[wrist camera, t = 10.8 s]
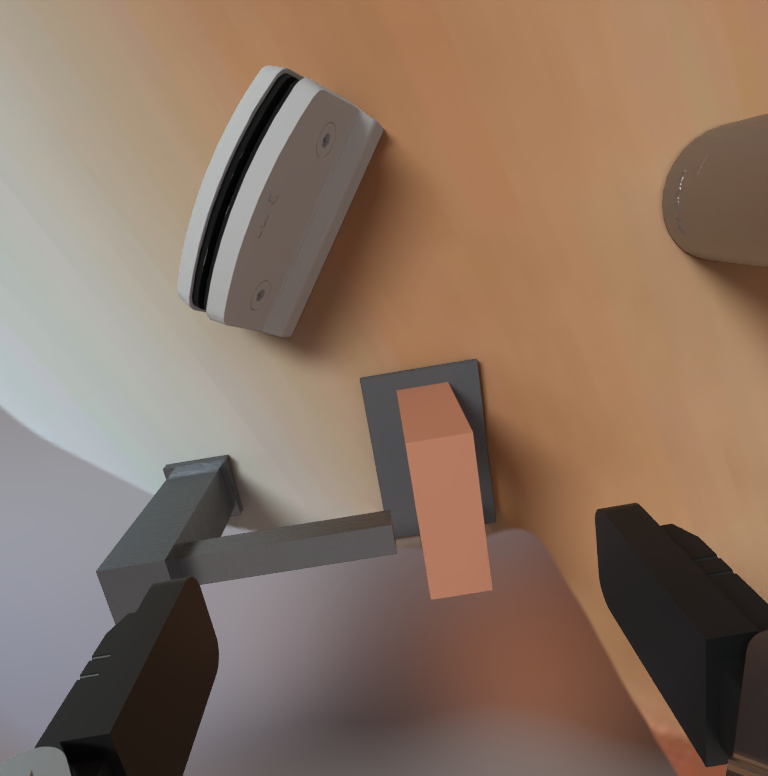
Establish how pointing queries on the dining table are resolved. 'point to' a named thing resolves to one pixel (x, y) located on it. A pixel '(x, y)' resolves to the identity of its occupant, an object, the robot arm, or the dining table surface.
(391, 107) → the dining table surface
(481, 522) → the pink block
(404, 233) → the dining table surface
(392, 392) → the mat
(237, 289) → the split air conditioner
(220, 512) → the bracket
